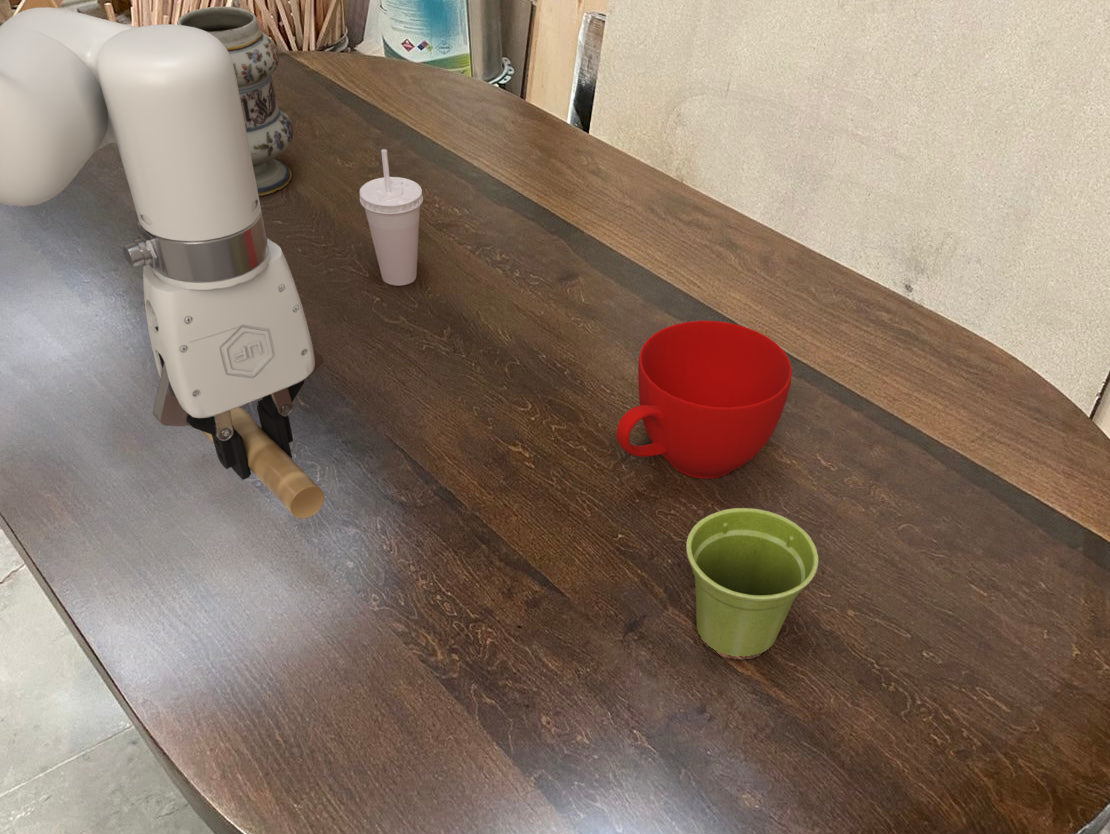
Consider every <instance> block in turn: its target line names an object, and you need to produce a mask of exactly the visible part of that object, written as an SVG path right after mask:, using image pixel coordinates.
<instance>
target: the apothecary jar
mask: <svg viewBox="0 0 1110 834" xmlns="http://www.w3.org/2000/svg"><path fill="white" fill-rule="evenodd" d="M176 25H183V26H189V27H195V28H198V29H201V30H204V31H206V32H208V33H210V34H211V35H213V36H215V37H216V38H218V39H219V40H220V42H221V43H222V44H223V45H224V46H225V47H226V49H227V51H228V52H229V54H230V57H231V59H232V62H233V66H234V70H235V74H236V80H237V85H238V90H239V95H240V101H241V106H242V111H243V116H244V122H245V127H246V132H247V137H248V143H249V148H250V153H251V158H252V164H253V169H254V175H255V180H256V185H257V190H258V196H259V197H263V196H266V195H271V194H273V193H275V192H278V191H280V190H282V189H284V188H285V187H286V186H287V185H288V184H289V183H290V182H289V181H291V180H292V177H293V176H292V175H293V174H292V170H291V169H290V167H289V166H288V165H287V164H285V162H282V161H281V160H279V159H277V158H278V157H279V156H280V155H282V154H283V153H284V152H285V151H286V150H287V149H288V147H290V145H291V143H292V141H293V138H294V125H293V122H292V120H291V118H290V117H289V115H288V114H287V112H286V111H284V109H282V108H281V107H279V105H278V100H277V96H276V92H275V87H274V82H273V76H272V75H273V73H274V72H276V70H277V68H278V66H279V64H280V53H279V49H278V47H277V45H276V43H275V42H274V41H273V39H272V38H271V37H270V36H268V35H267V34H266V33H265V32H263V31H262V29H261V28H260V24H259V21H258V18H257V16H256V15H255V14H254V12H252V11H249V10H247V9H244V8H241V7H235V6H210V7H209V6H208V7H203V8H198V9H194V10H191V11H188V12H186V13H184V14H183V15H181V16H180V17H179V18H178V19H177V21H176ZM277 190H278V191H277Z"/></svg>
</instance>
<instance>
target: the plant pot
mask: <svg viewBox="0 0 1110 834" xmlns="http://www.w3.org/2000/svg"><path fill="white" fill-rule="evenodd" d="M685 544H686V546H685V547H686V548H685V550H686V551H685V553H686V557H687V560H688V562H689V565H690V567H691V570H692V574H693V576H694V585H695V587H694V589H695V612H696V613H695V614H696V615H695V616H696V617H695V618H696V631H697V630H698V633H699V634H700V636H701V637H702V639H703V641H705V642H706V643H707V644H708V645H709V646H710V647H711V648H713V649H714V650H717V651H718V652H721V653H724V654H727V655H731V656H743V657H745V656H751V655H755V654H759V653H762V652H764V651H766V650H767V649H769V648H770V647H771V646H772V645H773V646H774V644H775V642H776V640H777V638H778V636H779V634H780V632H781V630H782V627H783V625H784V623H785V621H786V618H787V616H788V614H789V612H790V610H791V608H792V606H793V603H794V601H795V599H796V597H797V596H798V595H800V593H801V592H802V591H803V590H804V589H805V588H806V587H807V586H808V585H810V584H811V582H812V581H813V579H814V577H815V575H816V574H817V571H818V566H819V554H818V550H817V547H816V545H815V543H814V541H813V540H812V538H811V537H810V535H809V534H808V532H807V531H805V529H803V528H802V527H801V526H800V525H798V524H797V523H796V522H794V521H792V520H791V519H789V518H787V517H784V516H783V515H781V514H778V513H775V512H772V511H769V510H764V509H759V508H749V507H736V508H728V509H722V510H720V511H719V510H718V511H716V512H714V513H711V514H709V515H707V516H705V517H704V518H701V519H700V520H699V521H698V522H697V523H696V524H695V525H694V526H693V527H692V528H691V530H690V532H689V533H688V536H687V539H686V543H685ZM698 633H697V634H698ZM773 643H774V644H773ZM773 646H772V647H773ZM772 647H771V648H772ZM711 648H710V649H711ZM771 648H770V649H771ZM770 649H769V650H770ZM714 650H713V651H714ZM766 652H767V651H766Z"/></svg>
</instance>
